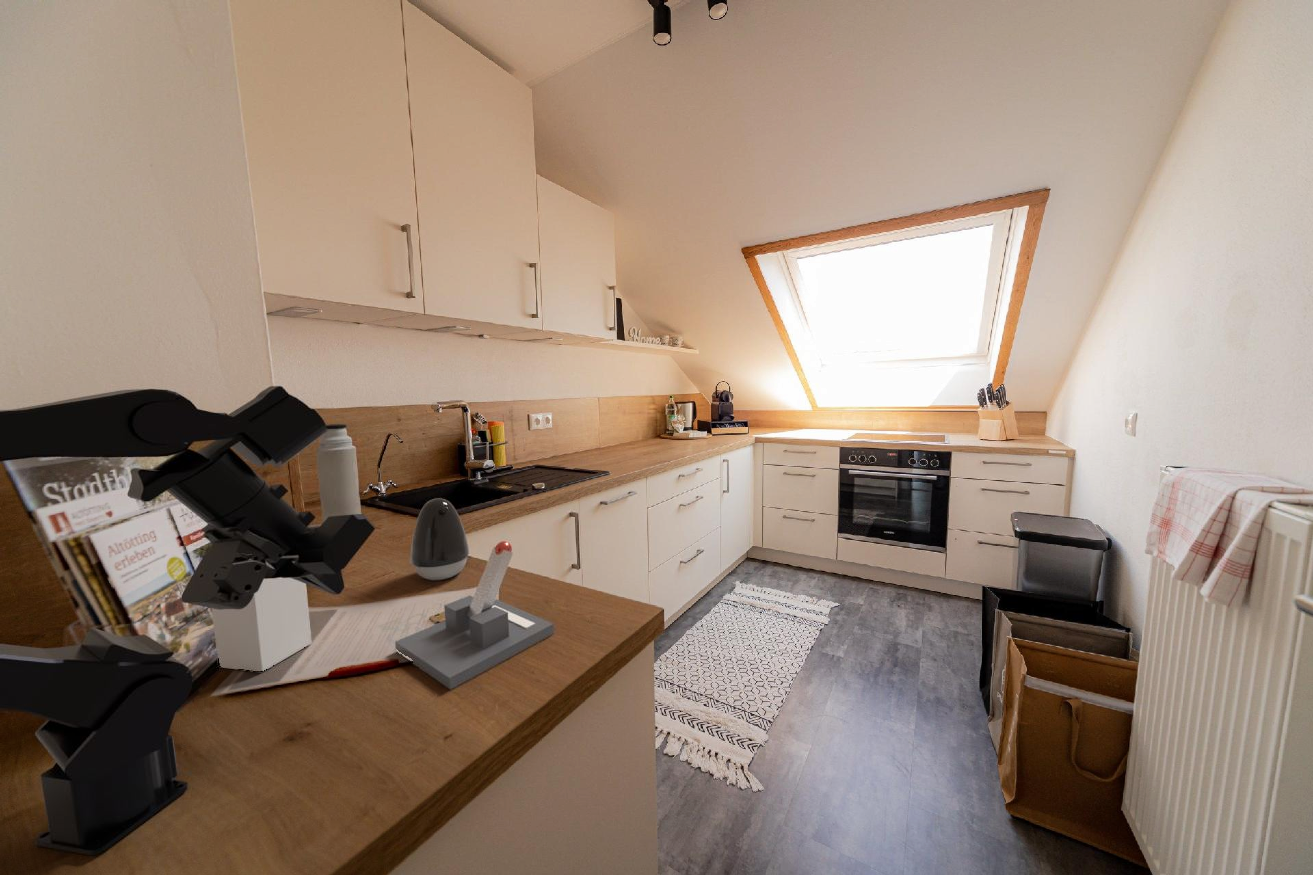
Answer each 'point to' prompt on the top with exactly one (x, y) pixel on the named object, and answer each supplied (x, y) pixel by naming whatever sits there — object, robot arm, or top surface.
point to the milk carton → (264, 626)
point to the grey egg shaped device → (439, 541)
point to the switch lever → (491, 579)
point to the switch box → (472, 640)
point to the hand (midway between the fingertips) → (339, 591)
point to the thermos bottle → (337, 473)
